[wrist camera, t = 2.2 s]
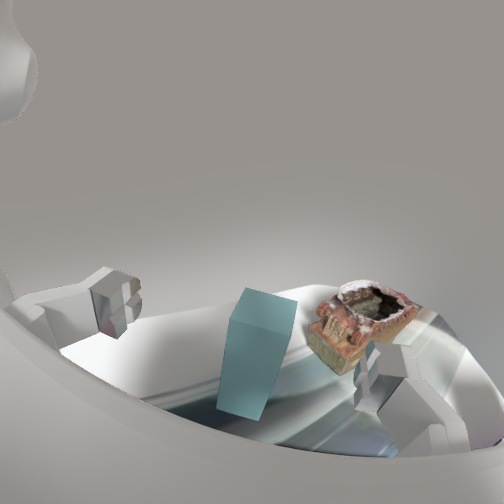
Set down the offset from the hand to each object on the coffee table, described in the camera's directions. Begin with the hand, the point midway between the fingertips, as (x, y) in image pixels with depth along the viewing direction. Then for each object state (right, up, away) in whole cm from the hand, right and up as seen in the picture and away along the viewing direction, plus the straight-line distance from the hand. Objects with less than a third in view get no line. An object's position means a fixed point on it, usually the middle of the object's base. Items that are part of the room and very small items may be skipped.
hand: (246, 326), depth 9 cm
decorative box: (+17, -12, +33) cm, 39 cm away
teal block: (-1, -15, +20) cm, 25 cm away
